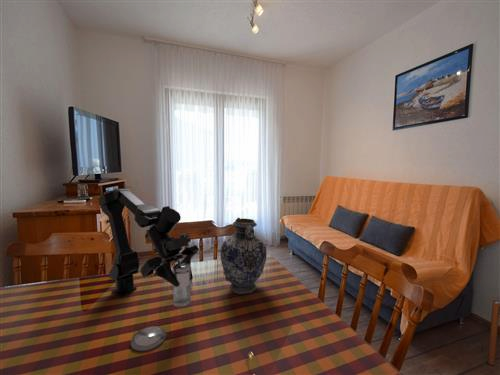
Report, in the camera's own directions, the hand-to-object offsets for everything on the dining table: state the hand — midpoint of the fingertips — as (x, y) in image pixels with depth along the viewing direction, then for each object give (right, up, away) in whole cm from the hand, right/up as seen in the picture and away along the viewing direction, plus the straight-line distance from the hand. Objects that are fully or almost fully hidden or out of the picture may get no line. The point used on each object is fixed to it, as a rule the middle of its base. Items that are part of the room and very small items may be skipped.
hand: (184, 282), depth 71 cm
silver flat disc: (-8, -13, -6) cm, 17 cm away
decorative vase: (+17, -12, +24) cm, 32 cm away
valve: (-7, -12, +23) cm, 27 cm away
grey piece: (-1, -7, +1) cm, 7 cm away
